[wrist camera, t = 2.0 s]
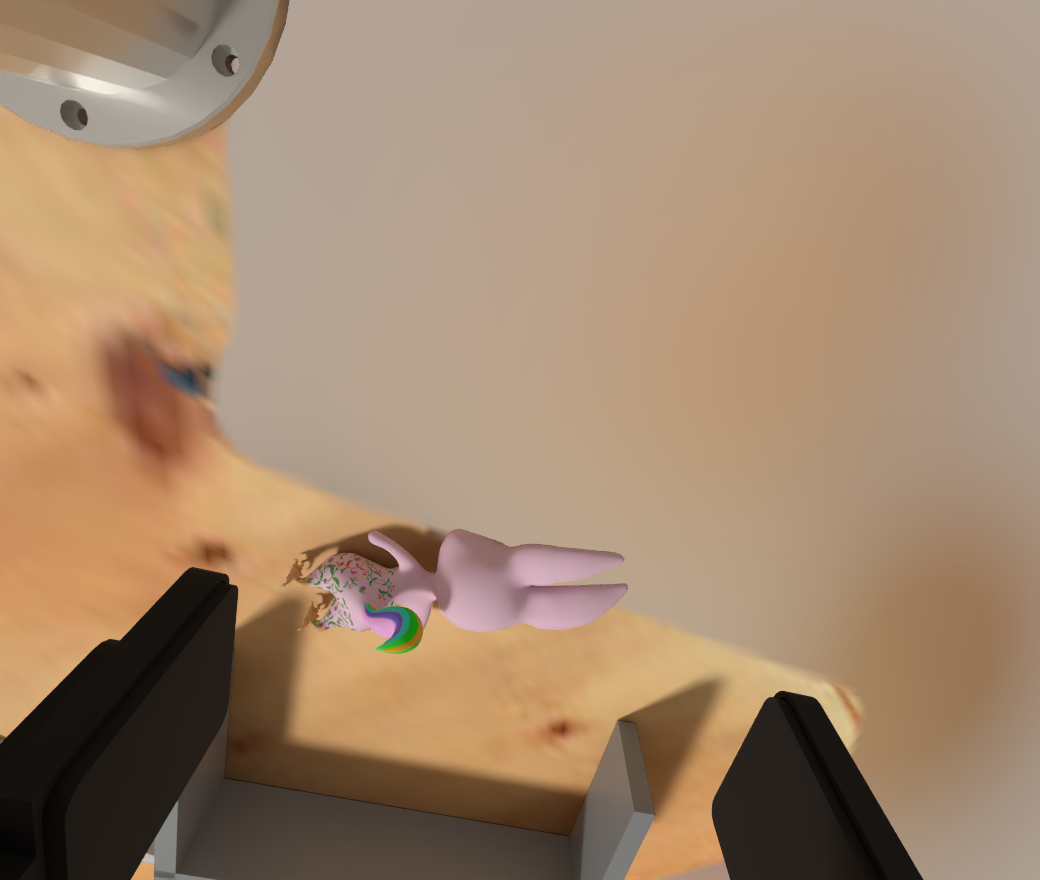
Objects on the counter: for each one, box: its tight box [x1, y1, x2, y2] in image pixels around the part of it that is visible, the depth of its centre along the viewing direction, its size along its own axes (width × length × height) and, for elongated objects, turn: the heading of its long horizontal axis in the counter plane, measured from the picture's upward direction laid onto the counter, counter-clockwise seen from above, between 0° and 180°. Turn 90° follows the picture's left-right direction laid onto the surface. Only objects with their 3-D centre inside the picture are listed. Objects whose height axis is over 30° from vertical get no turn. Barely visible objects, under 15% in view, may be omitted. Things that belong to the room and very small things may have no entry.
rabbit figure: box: [280, 529, 628, 654], centre depth 25 cm, size 6×6×15 cm
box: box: [154, 648, 655, 880], centre depth 30 cm, size 10×22×5 cm, turn 76°
